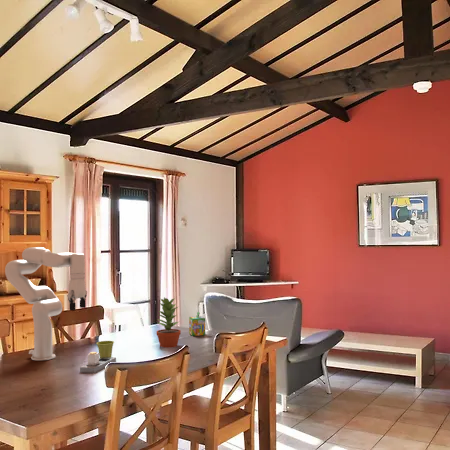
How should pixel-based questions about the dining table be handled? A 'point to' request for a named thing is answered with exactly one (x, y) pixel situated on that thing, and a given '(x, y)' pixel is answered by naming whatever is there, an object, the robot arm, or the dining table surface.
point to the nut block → (93, 359)
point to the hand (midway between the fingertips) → (77, 308)
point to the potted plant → (168, 325)
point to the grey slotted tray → (102, 363)
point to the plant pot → (105, 348)
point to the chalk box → (197, 325)
